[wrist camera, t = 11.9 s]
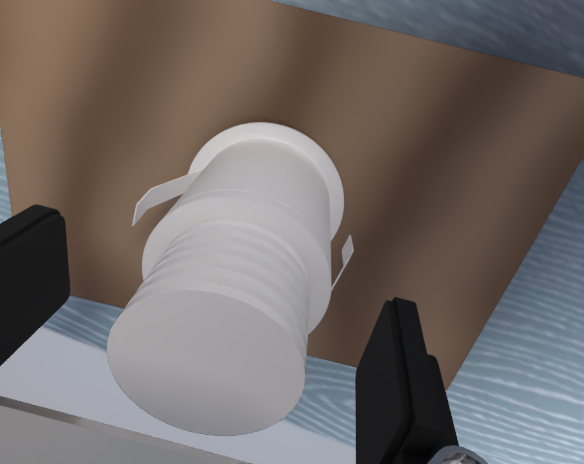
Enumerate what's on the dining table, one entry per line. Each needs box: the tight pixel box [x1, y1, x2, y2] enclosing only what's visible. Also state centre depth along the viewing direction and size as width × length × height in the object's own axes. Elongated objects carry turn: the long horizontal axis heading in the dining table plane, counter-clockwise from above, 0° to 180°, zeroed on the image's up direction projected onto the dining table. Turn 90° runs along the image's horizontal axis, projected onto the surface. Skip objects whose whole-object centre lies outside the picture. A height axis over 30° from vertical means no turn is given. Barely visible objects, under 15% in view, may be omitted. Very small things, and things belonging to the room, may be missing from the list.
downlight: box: [107, 122, 354, 436], centre depth 14 cm, size 8×7×10 cm
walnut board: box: [0, 0, 584, 390], centre depth 19 cm, size 24×16×2 cm, turn 78°
